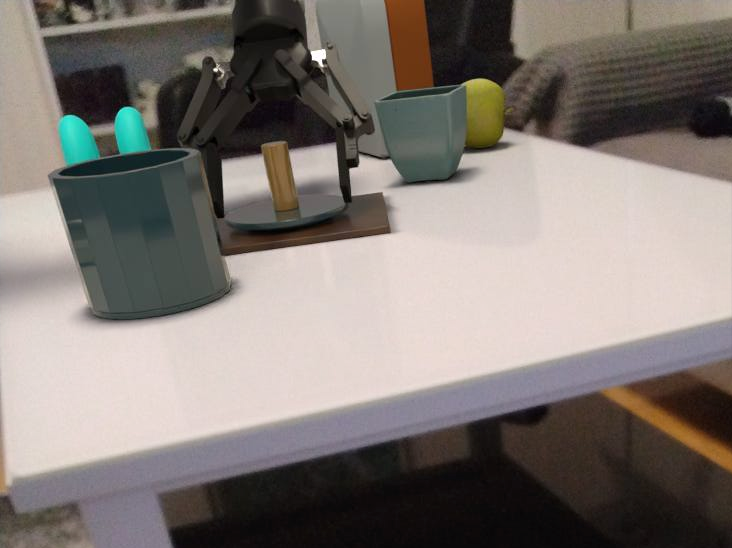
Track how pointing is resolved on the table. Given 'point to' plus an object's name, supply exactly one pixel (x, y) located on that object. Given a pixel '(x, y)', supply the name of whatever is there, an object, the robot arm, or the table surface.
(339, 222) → the board
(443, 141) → the flower pot
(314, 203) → the lid
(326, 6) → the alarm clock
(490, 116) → the apple
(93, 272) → the canister
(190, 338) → the table surface
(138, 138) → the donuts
